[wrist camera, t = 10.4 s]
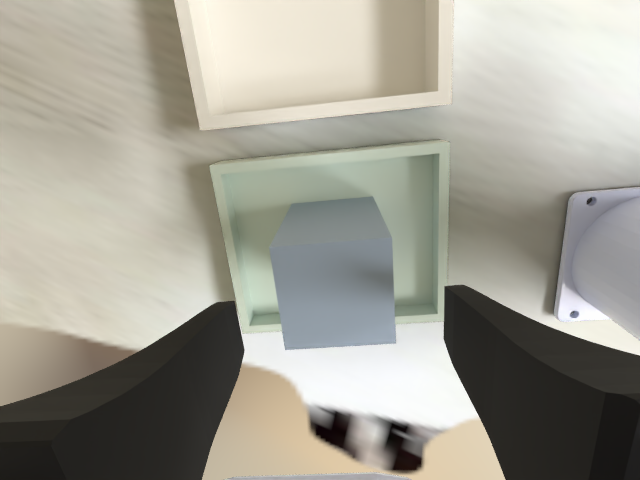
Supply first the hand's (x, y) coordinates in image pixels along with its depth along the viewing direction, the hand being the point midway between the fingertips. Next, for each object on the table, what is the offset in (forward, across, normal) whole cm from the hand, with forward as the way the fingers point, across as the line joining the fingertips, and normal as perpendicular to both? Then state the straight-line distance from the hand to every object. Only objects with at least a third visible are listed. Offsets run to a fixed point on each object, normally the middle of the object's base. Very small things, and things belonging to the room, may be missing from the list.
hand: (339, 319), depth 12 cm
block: (+9, 0, 0) cm, 9 cm away
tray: (+9, 0, 0) cm, 9 cm away
